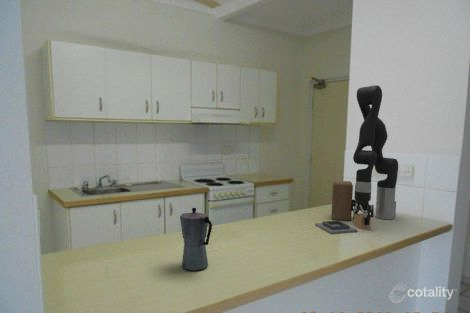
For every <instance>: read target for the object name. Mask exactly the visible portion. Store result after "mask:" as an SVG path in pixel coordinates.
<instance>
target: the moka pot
mask: <svg viewBox="0 0 470 313" xmlns="http://www.w3.org/2000/svg"><path fill="white" fill-rule="evenodd" d="M191 211H192V212H184V213H182V214H181V215H180V216H179V219H180V228H181V235H182V238H183V252H182V261H181V262H182V263H181V267H182V269H184V270H187V271H200V270H204V269H206V268H207V267H208V266H209V263H208V255H207V254H208V253H207V247H206V246H208V245H209V243H210V242H209V241H210V238H211V233H212V228H213V224H212V221H211V220H210V219H209V215H207V214H206V213H202V212H197V208H196V207H192V208H191Z"/></svg>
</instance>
